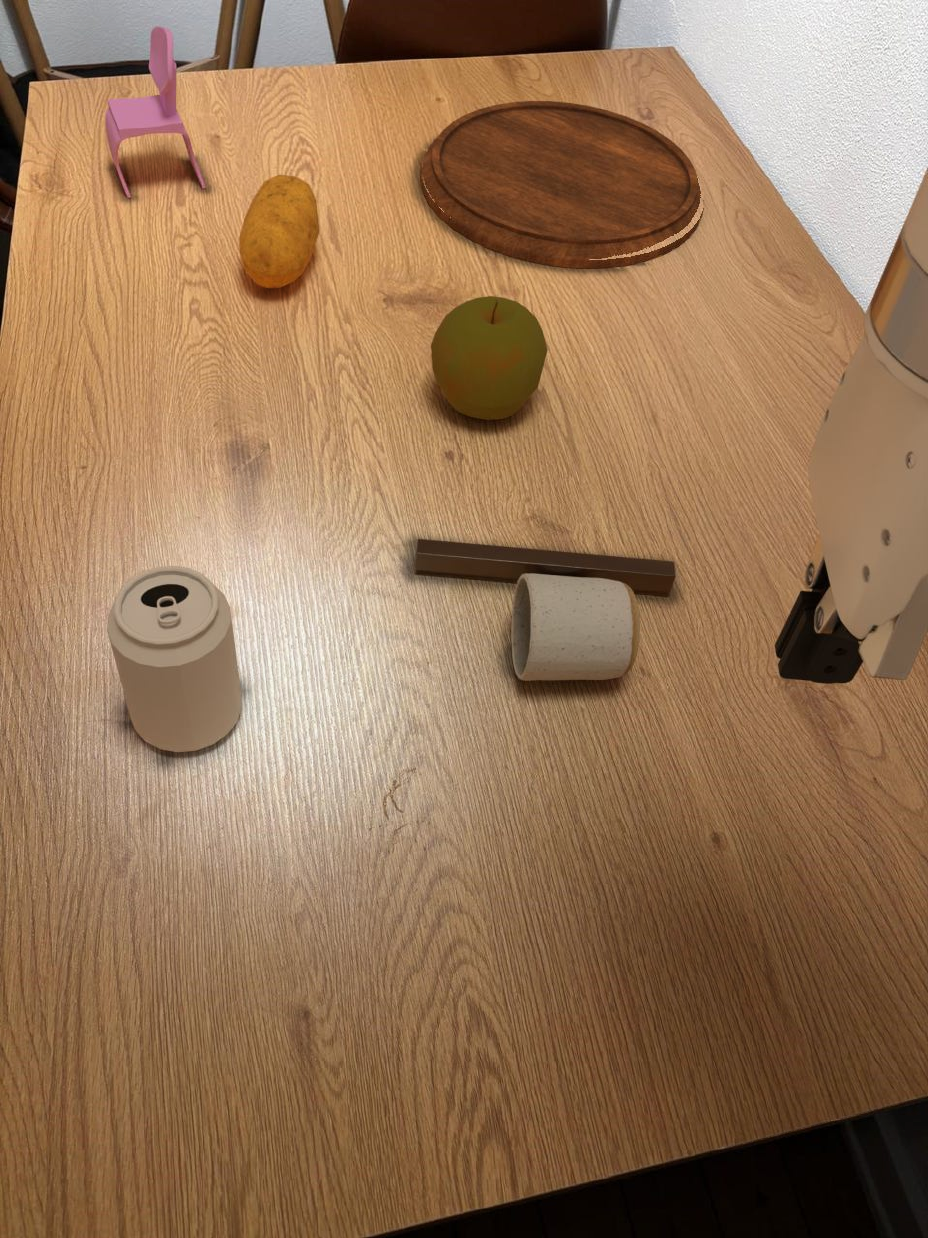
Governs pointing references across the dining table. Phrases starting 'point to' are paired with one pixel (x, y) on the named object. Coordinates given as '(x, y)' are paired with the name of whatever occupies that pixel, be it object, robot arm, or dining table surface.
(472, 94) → the dining table surface
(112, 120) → the toy chair
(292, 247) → the potato
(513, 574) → the back rail
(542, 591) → the ceramic mug
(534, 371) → the apple
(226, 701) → the can
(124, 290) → the dining table surface
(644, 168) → the cutting board
